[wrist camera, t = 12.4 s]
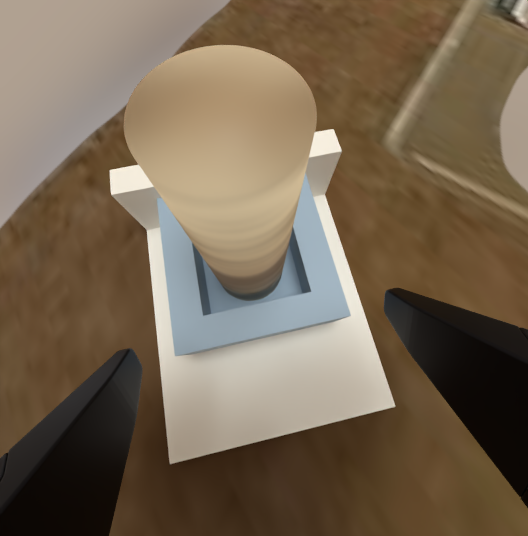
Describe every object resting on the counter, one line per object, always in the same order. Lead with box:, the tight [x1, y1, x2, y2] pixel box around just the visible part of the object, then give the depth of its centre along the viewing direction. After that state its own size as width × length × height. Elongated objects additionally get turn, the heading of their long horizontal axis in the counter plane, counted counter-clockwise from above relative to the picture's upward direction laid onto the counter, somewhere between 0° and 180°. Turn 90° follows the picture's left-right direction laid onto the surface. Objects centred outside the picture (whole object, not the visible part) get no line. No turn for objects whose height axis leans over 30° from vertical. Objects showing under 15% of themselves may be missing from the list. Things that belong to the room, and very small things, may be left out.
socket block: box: [157, 173, 351, 356], centre depth 19 cm, size 11×11×4 cm
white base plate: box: [110, 129, 395, 464], centre depth 18 cm, size 20×16×6 cm
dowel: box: [124, 45, 317, 301], centre depth 13 cm, size 5×5×14 cm
